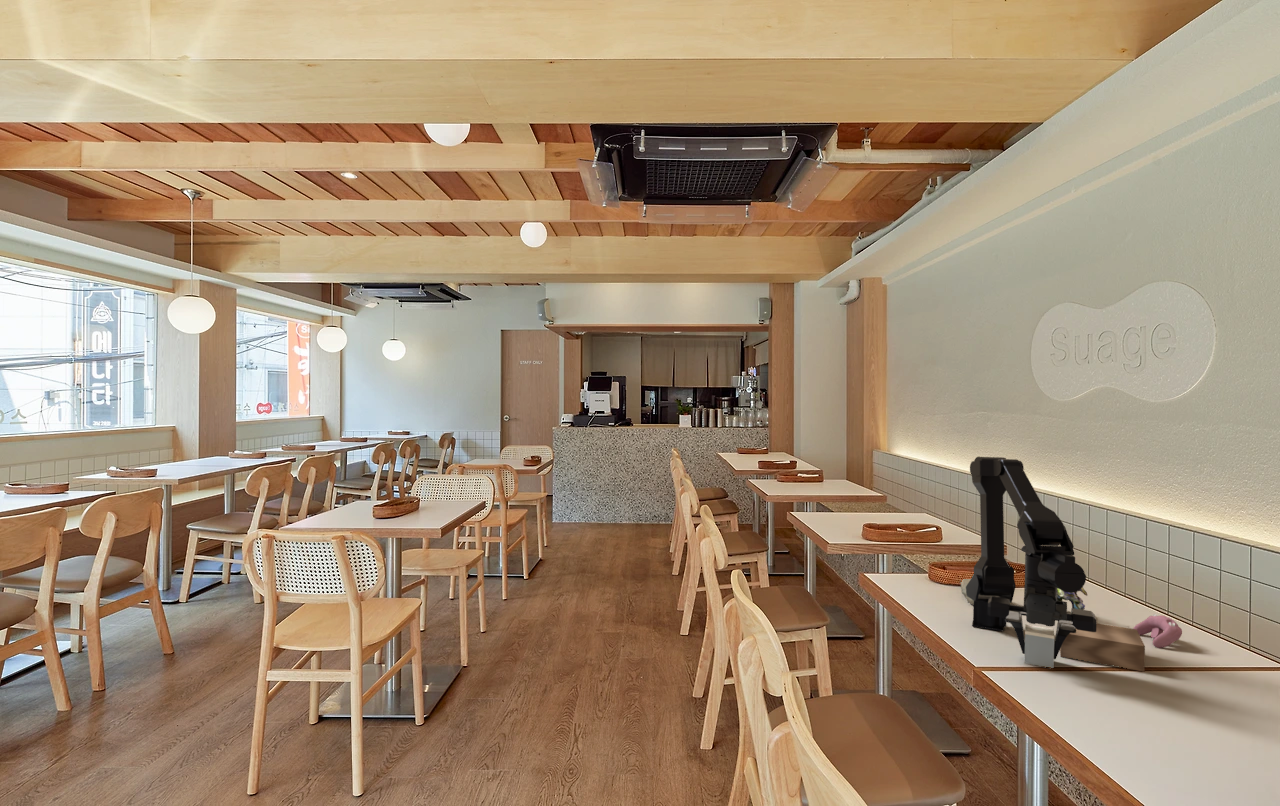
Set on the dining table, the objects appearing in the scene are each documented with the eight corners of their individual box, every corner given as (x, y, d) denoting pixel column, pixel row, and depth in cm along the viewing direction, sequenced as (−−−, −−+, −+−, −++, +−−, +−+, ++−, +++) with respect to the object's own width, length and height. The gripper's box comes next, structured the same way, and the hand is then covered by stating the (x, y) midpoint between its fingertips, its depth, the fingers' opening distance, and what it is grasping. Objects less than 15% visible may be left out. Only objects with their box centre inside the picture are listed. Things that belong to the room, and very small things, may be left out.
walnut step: (1060, 656, 140) (1061, 632, 140) (1058, 640, 151) (1058, 617, 151) (1144, 671, 134) (1145, 646, 134) (1135, 652, 144) (1136, 629, 144)
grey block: (1024, 663, 136) (1025, 631, 136) (1024, 655, 141) (1025, 624, 141) (1053, 668, 134) (1054, 635, 134) (1052, 660, 138) (1053, 628, 138)
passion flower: (1077, 640, 167) (1096, 609, 160) (1028, 626, 171) (1045, 596, 164) (1072, 604, 176) (1090, 574, 169) (1025, 592, 179) (1041, 562, 172)
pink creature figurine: (1173, 657, 147) (1191, 629, 146) (1152, 645, 147) (1169, 618, 147) (1148, 641, 156) (1165, 615, 156) (1129, 631, 157) (1145, 605, 156)
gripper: (987, 580, 135) (985, 658, 135) (1100, 595, 126) (1097, 680, 126) (989, 569, 145) (987, 642, 145) (1095, 582, 135) (1092, 660, 135)
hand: (1038, 655), depth 137 cm, fingers closed on grey block, 5 cm apart
